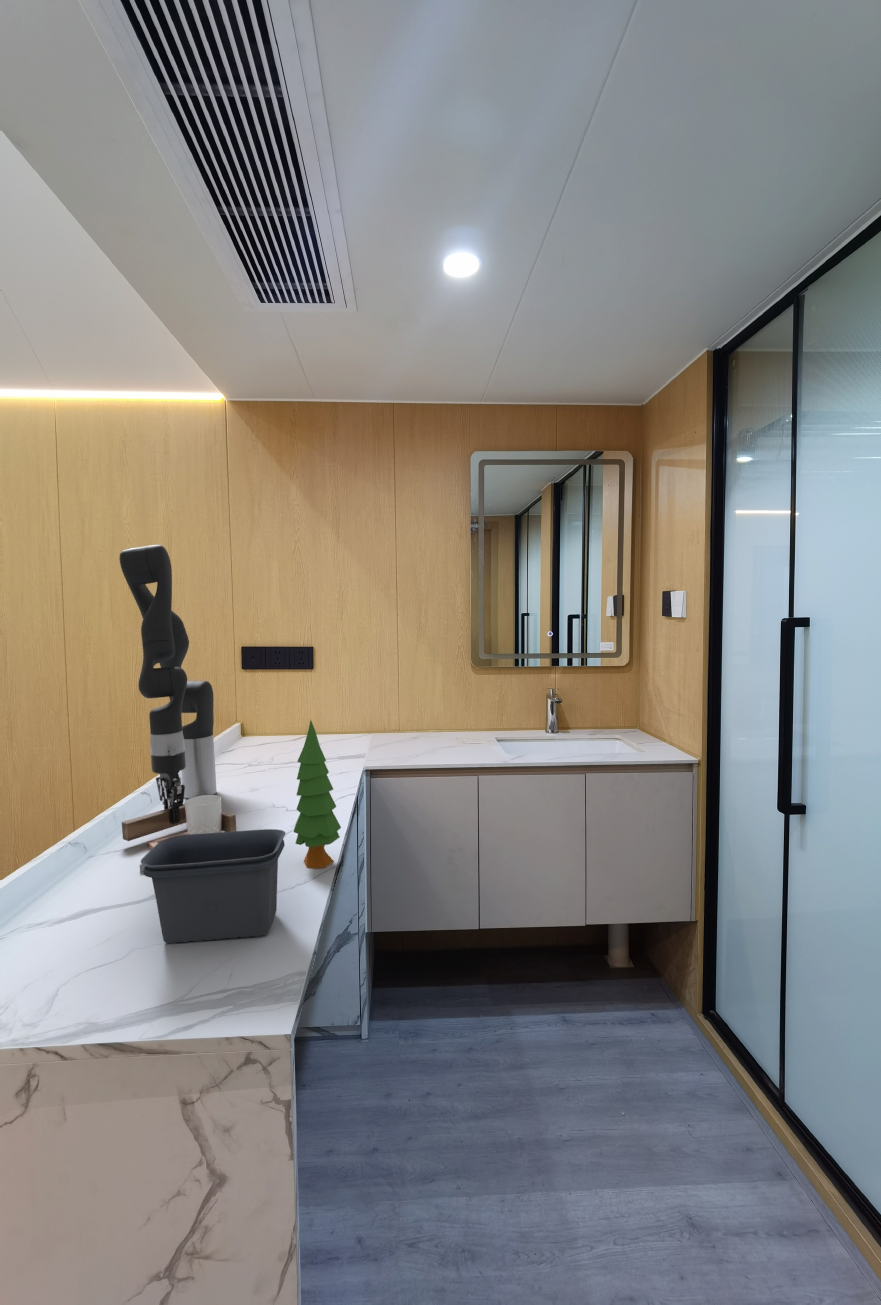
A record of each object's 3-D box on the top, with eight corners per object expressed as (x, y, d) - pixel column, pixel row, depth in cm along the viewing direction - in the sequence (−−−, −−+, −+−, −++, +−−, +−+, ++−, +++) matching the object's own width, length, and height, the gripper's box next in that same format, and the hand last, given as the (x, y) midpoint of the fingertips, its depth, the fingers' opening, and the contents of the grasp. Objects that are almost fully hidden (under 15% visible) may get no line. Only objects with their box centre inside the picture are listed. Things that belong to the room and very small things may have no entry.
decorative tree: (325, 851, 138) (319, 714, 136) (351, 862, 131) (345, 719, 129) (286, 864, 131) (279, 721, 129) (311, 877, 124) (304, 726, 122)
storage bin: (139, 955, 98) (132, 865, 97) (173, 908, 113) (168, 830, 112) (279, 945, 99) (274, 856, 98) (294, 900, 115) (290, 823, 114)
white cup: (229, 836, 149) (227, 794, 148) (214, 849, 141) (211, 805, 140) (197, 836, 150) (195, 794, 149) (180, 849, 142) (177, 805, 141)
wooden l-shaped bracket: (122, 839, 144) (121, 822, 144) (191, 817, 158) (190, 801, 158) (167, 856, 133) (165, 837, 133) (236, 831, 147) (235, 814, 146)
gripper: (142, 749, 154) (147, 818, 155) (161, 758, 144) (166, 832, 145) (173, 744, 159) (178, 811, 160) (194, 752, 149) (198, 824, 150)
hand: (172, 821), depth 153 cm, fingers closed on wooden l-shaped bracket, 2 cm apart
